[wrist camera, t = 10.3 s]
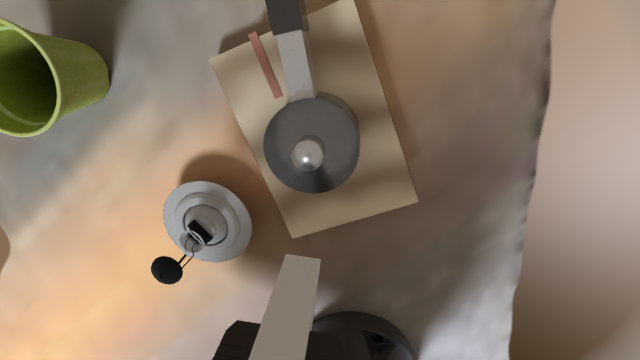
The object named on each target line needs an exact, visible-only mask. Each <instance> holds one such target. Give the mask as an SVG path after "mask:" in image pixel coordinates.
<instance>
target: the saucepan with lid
mask: <svg viewBox="0 0 640 360" xmlns="http://www.w3.org/2000/svg"><path fill="white" fill-rule="evenodd" d="M265 1H266V6H267V10H268V15H269V19H270V24H271V29H272V33H273V36H276V38H277V42H278V47H279V52H280V56H281V61H282V65H283V70H284V74H285V79H286V84H287V88H288V93H289V97H290V102H289V103H288V104H287V105H285V106H284V107H283V108H282V109H280V110H279V111H278V112H277V113H276V114H275V115H274V116H273V117H272V119H271V120H270V122H269V124H268V125H267V128H266V131H265V134H264V140H263V150H264V155H265V159H266V162H267V164H268V166H269V168H270V170H271V171H272V173H273V174H274V175H275V176H276V178H277V179H278V180H280V181H281V182H282V183H283V184H285V185H286V186H288V187H289V188H291V189H294V190H296V191H299V192H303V193H311V194H316V193H324V192H328V191H331V190H333V189H335V188H337V187H339V186H340V185H342V184H343V183H344V182H345V181H346V180H347V179H348V178H349V177H350V176H351V174H352V173H353V171H354V170H355V168H356V165H357V162H358V159H359V154H360V129H359V124H358V120H357V118H356V116H355V114H354V112H353V111H352V109H351V108H350V107H349V106H348V104H347V103H345V102H344V101H343V100H342V99H340V98H338V97H337V96H335V95H332V94H329V93H325V92H318V86H317V81H316V76H315V70H314V65H313V60H312V55H311V49H310V44H309V39H308V34H307V31H310V30H309V25H308V20H307V14H306V9H305V4H304V0H265Z"/></svg>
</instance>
